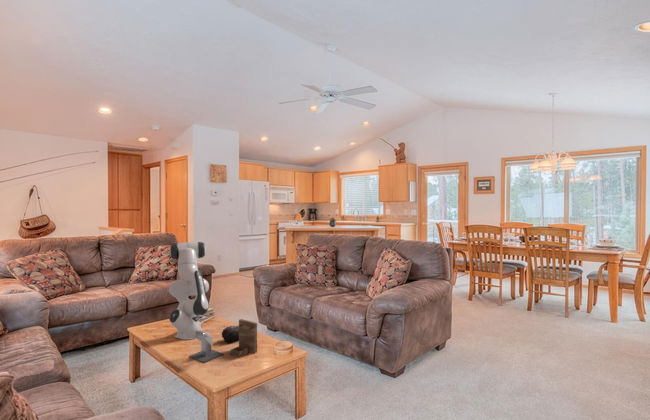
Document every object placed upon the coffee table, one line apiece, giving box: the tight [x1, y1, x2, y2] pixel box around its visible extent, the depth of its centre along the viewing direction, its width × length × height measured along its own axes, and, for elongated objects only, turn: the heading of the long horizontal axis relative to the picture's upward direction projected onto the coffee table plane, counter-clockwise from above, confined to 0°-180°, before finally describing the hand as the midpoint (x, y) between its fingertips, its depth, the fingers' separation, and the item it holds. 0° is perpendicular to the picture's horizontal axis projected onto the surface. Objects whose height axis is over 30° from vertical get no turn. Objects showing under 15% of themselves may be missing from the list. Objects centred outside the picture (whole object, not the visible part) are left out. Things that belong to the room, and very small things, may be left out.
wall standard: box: [230, 318, 258, 358], centre depth 223 cm, size 12×14×18 cm
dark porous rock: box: [221, 325, 239, 344], centre depth 245 cm, size 10×18×10 cm, turn 146°
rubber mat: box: [188, 348, 224, 364], centre depth 218 cm, size 14×14×1 cm
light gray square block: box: [200, 341, 212, 357], centre depth 218 cm, size 4×4×10 cm
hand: (206, 341), depth 218 cm, fingers open, 8 cm apart
